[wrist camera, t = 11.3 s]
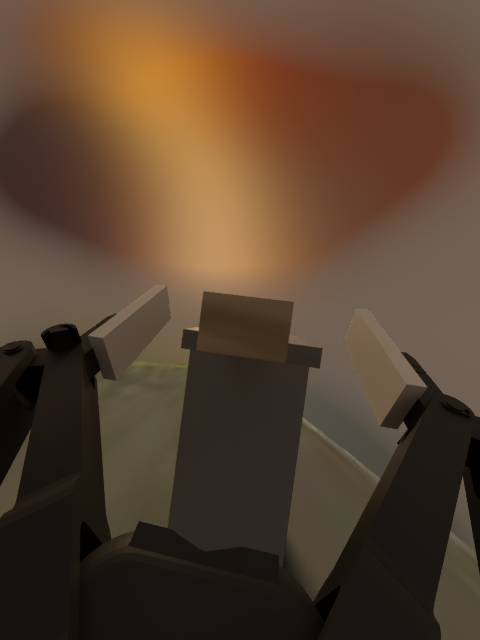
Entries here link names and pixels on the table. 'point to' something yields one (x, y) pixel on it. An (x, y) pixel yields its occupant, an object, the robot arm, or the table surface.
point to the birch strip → (245, 326)
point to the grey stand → (239, 447)
